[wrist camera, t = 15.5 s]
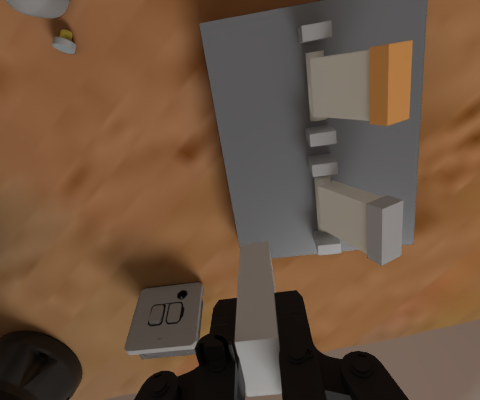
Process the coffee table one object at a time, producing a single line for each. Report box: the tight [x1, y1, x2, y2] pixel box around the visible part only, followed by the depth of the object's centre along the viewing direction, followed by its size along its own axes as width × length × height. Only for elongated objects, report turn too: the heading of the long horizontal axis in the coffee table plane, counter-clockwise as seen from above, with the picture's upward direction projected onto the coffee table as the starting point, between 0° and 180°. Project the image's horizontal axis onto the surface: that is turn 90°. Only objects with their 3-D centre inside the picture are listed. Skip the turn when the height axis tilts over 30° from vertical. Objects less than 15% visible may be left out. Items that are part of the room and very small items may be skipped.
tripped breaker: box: [305, 40, 413, 126], centre depth 27 cm, size 2×6×10 cm
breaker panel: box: [199, 0, 427, 258], centre depth 34 cm, size 20×26×7 cm
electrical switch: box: [125, 282, 204, 359], centre depth 44 cm, size 9×5×9 cm, turn 101°
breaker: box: [314, 175, 403, 266], centre depth 31 cm, size 2×6×10 cm
